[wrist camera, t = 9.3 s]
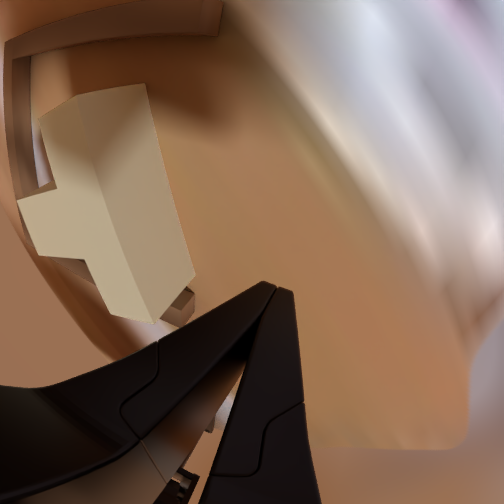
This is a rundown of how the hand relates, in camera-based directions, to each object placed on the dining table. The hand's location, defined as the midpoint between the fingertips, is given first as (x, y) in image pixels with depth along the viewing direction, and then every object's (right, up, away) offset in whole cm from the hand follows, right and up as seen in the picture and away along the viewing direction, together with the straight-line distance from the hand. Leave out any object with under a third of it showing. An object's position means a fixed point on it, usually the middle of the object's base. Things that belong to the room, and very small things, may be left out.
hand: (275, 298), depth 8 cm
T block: (-8, +4, +7) cm, 12 cm away
